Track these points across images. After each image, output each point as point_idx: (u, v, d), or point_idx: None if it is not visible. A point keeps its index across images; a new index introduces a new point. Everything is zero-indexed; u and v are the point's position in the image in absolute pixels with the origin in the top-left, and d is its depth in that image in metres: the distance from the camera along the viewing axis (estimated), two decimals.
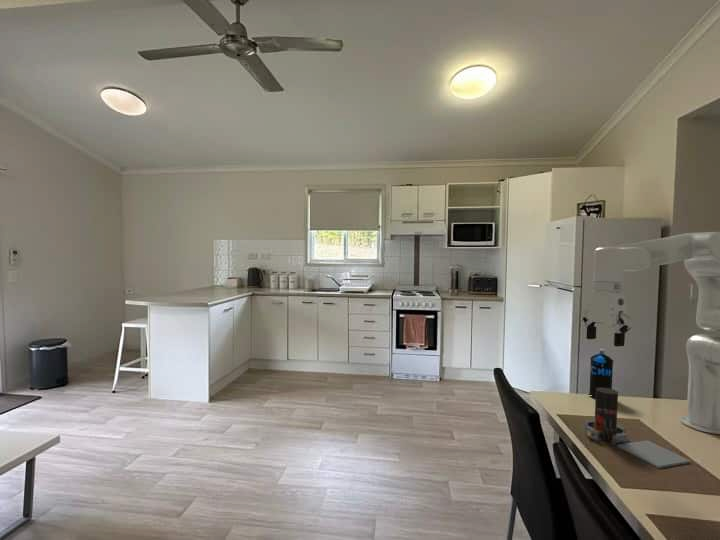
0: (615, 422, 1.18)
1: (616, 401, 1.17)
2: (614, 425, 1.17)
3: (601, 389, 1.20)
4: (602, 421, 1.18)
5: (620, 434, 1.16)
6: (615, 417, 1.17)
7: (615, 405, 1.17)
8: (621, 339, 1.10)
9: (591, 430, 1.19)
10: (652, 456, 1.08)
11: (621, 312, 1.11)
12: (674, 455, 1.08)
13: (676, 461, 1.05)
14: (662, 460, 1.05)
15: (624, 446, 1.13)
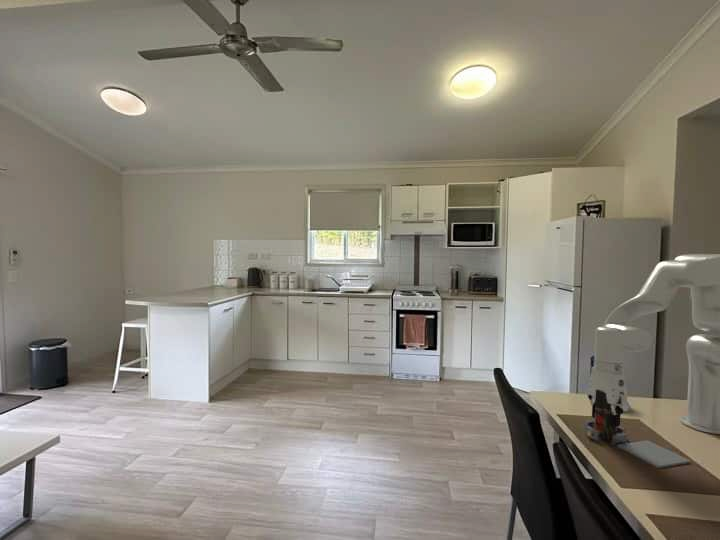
0: None
1: None
2: None
3: None
4: (602, 421, 1.18)
5: (620, 434, 1.16)
6: None
7: None
8: (617, 420, 1.16)
9: (591, 430, 1.19)
10: (652, 456, 1.08)
11: (621, 394, 1.15)
12: (674, 455, 1.08)
13: (676, 461, 1.05)
14: (662, 460, 1.05)
15: (624, 446, 1.13)
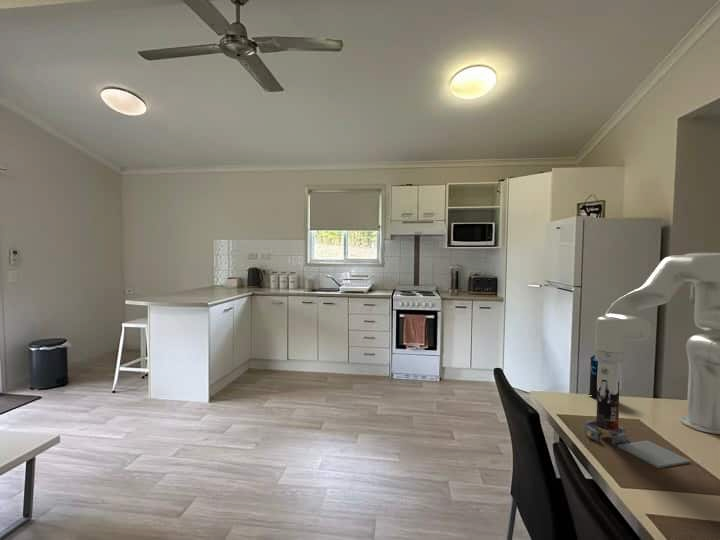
0: None
1: (608, 391, 1.17)
2: None
3: None
4: (597, 407, 1.21)
5: (620, 434, 1.16)
6: None
7: None
8: (603, 408, 1.17)
9: (591, 430, 1.19)
10: (652, 456, 1.08)
11: (604, 382, 1.16)
12: (674, 455, 1.08)
13: (676, 461, 1.05)
14: (662, 460, 1.05)
15: (624, 446, 1.13)
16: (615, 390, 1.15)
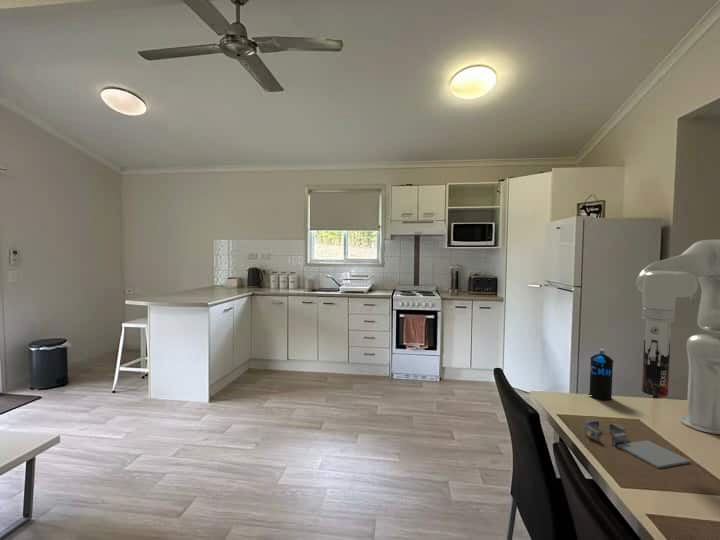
0: None
1: None
2: None
3: None
4: (643, 372, 1.10)
5: (620, 434, 1.16)
6: None
7: None
8: (651, 371, 1.06)
9: (591, 430, 1.19)
10: (652, 456, 1.08)
11: (654, 343, 1.05)
12: (674, 455, 1.08)
13: (676, 461, 1.05)
14: (662, 460, 1.05)
15: (624, 446, 1.13)
16: (666, 351, 1.04)
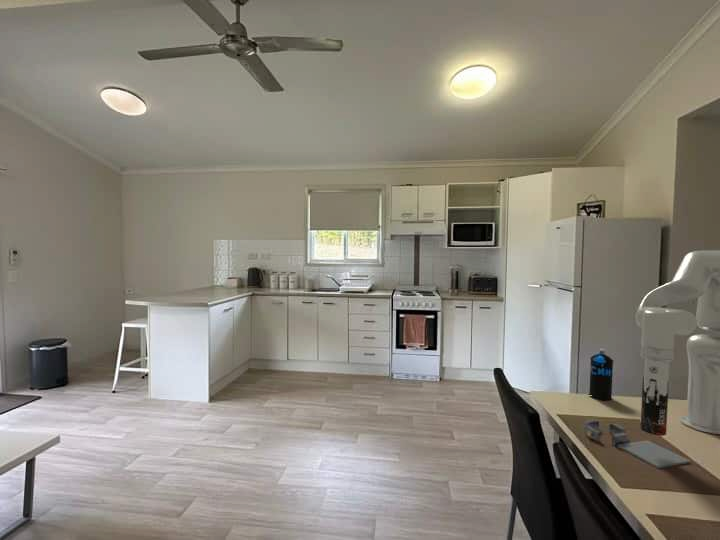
0: None
1: None
2: None
3: None
4: (642, 409, 1.10)
5: (620, 434, 1.16)
6: None
7: None
8: (650, 410, 1.06)
9: (591, 430, 1.19)
10: (652, 456, 1.08)
11: (653, 382, 1.05)
12: (674, 455, 1.08)
13: (676, 461, 1.05)
14: (662, 460, 1.05)
15: (624, 446, 1.13)
16: (665, 391, 1.04)
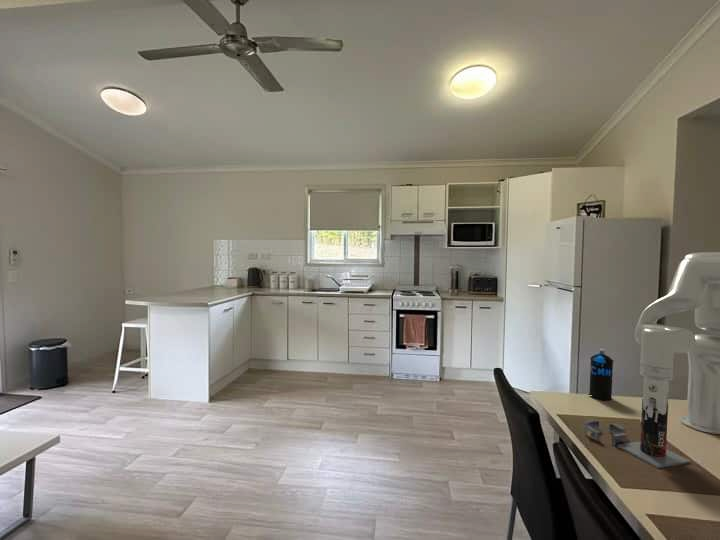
0: (655, 436, 1.07)
1: None
2: (653, 439, 1.07)
3: None
4: (641, 431, 1.11)
5: (620, 434, 1.16)
6: None
7: None
8: (649, 427, 1.06)
9: (591, 430, 1.19)
10: (652, 456, 1.08)
11: (652, 399, 1.05)
12: (674, 455, 1.08)
13: (676, 461, 1.05)
14: (662, 460, 1.05)
15: (624, 446, 1.13)
16: (664, 409, 1.05)
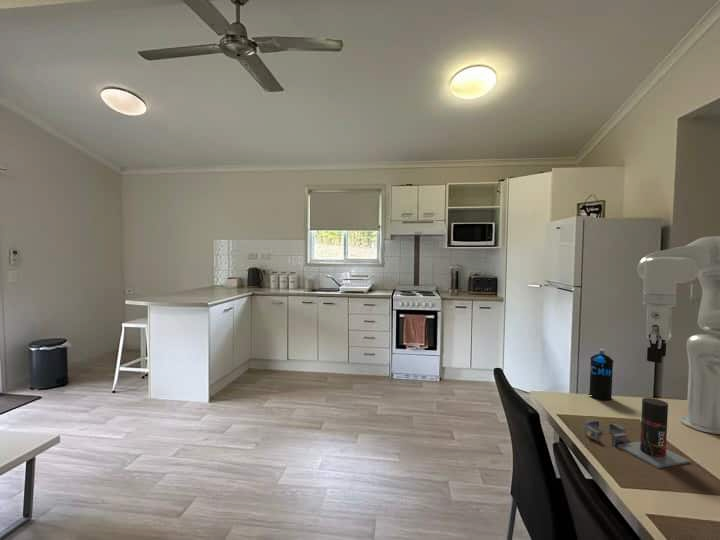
0: (655, 436, 1.07)
1: (656, 413, 1.07)
2: (653, 439, 1.07)
3: (650, 399, 1.11)
4: (641, 431, 1.11)
5: (620, 434, 1.16)
6: (655, 431, 1.07)
7: (654, 417, 1.07)
8: (652, 354, 1.05)
9: (591, 430, 1.19)
10: (652, 456, 1.08)
11: (655, 326, 1.05)
12: (674, 455, 1.08)
13: (676, 461, 1.05)
14: (662, 460, 1.05)
15: (624, 446, 1.13)
16: (668, 336, 1.04)
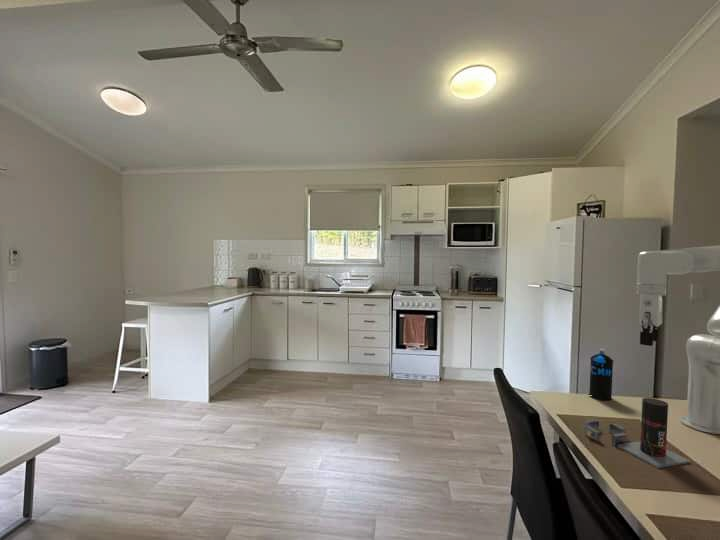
0: (655, 436, 1.07)
1: (656, 413, 1.07)
2: (653, 439, 1.07)
3: (650, 399, 1.11)
4: (641, 431, 1.11)
5: (620, 434, 1.16)
6: (655, 431, 1.07)
7: (654, 417, 1.07)
8: (644, 338, 1.17)
9: (591, 430, 1.19)
10: (652, 456, 1.08)
11: (647, 313, 1.17)
12: (674, 455, 1.08)
13: (676, 461, 1.05)
14: (662, 460, 1.05)
15: (624, 446, 1.13)
16: (658, 321, 1.16)
